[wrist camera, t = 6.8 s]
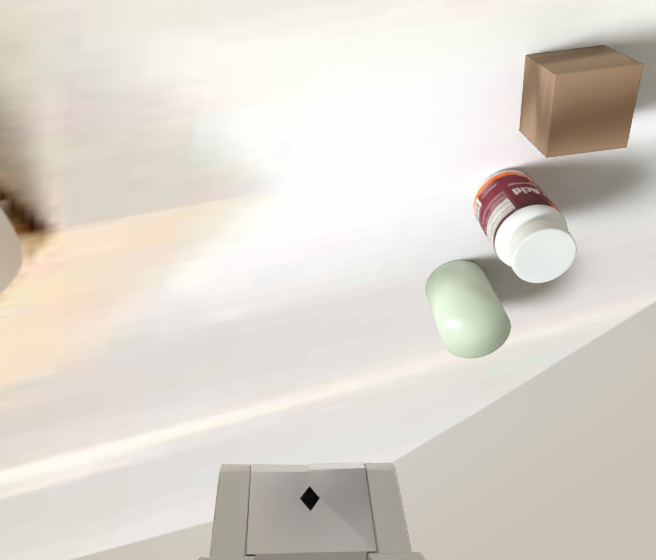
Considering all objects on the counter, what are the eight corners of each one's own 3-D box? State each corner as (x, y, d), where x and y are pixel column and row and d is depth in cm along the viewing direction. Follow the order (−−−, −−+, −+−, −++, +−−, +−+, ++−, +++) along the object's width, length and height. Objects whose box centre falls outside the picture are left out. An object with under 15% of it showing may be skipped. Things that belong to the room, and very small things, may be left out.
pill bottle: (547, 182, 42) (599, 239, 35) (509, 234, 44) (551, 298, 37) (494, 157, 40) (538, 212, 33) (458, 212, 43) (492, 274, 36)
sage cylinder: (430, 259, 45) (448, 305, 40) (492, 259, 45) (517, 305, 40) (421, 309, 48) (437, 358, 43) (479, 309, 48) (502, 358, 43)
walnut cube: (525, 55, 36) (555, 75, 32) (602, 44, 36) (643, 63, 32) (518, 130, 39) (546, 157, 35) (590, 120, 39) (626, 147, 35)
